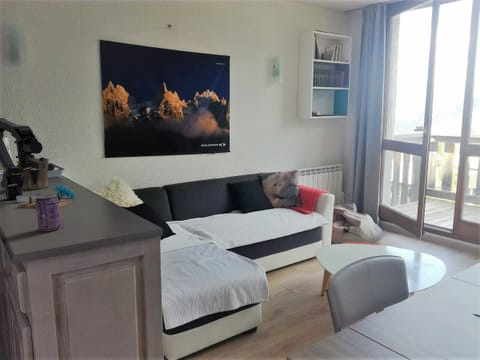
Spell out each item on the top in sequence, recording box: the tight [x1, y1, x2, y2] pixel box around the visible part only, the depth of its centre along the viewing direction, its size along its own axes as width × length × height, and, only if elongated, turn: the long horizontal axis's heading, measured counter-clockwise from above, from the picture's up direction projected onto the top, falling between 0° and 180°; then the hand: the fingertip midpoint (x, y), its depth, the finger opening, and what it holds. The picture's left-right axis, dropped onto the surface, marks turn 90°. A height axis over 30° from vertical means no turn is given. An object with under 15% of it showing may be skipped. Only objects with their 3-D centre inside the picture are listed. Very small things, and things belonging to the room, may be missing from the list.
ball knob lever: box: [16, 193, 48, 203], centre depth 188 cm, size 16×4×3 cm, turn 81°
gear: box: [54, 184, 76, 199], centre depth 189 cm, size 11×6×10 cm
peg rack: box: [17, 193, 73, 209], centre depth 179 cm, size 20×10×4 cm, turn 80°
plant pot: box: [16, 157, 50, 191], centre depth 223 cm, size 16×16×16 cm
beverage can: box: [35, 193, 62, 232], centre depth 138 cm, size 7×7×12 cm
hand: (28, 186), depth 187 cm, fingers open, 9 cm apart
